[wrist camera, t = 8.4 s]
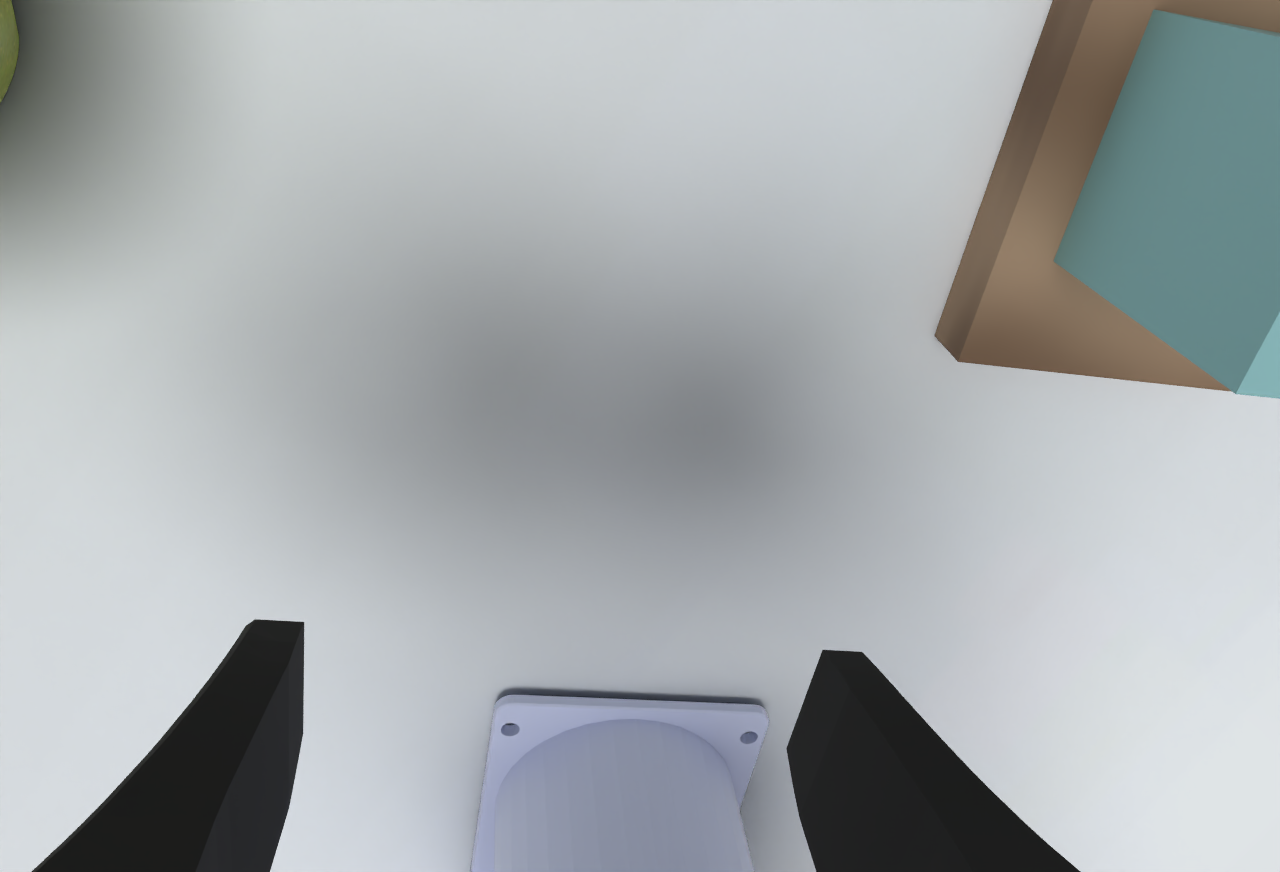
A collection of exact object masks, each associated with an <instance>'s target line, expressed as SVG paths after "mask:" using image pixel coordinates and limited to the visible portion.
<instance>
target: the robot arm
mask: <svg viewBox="0 0 1280 872" xmlns="http://www.w3.org/2000/svg"><path fill="white" fill-rule="evenodd" d="M303 689H304V622H292V621H273V620H254V621H252V622H251V623H249V624H248V625H246V627H245V628H244V630H243V631H242V633H241V634H240V636H239V638H238V639H237V641H236V642H235V644H234V645H233V646H232V648H231V649H230V651H229V652H228V654H227V655H226V657H225V658H224V659H223V661H222V662H221V664H220V665H219V666H218V668H217V669H216V670H215V672H214V673H213V674H212V676H211V677H210V678H209V680H208V681H207V682H206V684H205V685H204V686H203V688H202V689H201V690H200V691H199V693H198V694H197V695H196V697H195V698H194V699H193V701H192V702H191V703H190V704H189V705H188V707H187V708H186V709H185V710H184V711H183V713H182V714H181V715H180V716H179V717H178V719H177V720H176V721H175V722H174V724H173V725H172V726H171V727H170V728H169V730H168V731H167V732H166V733H165V734H164V736H163V737H162V738H161V739H160V741H159V742H158V743H157V744H156V745H155V746H154V747H153V749H152V750H151V751H150V752H149V753H148V754H147V755H146V756H145V758H144V759H143V760H142V761H141V762H140V763H139V764H138V765H137V766H136V767H135V768H134V770H133V771H132V772H131V773H130V774H129V775H128V776H127V777H126V778H125V779H124V780H123V781H122V783H121V784H120V785H119V786H118V787H117V788H116V789H115V790H114V791H113V792H112V793H111V795H110V796H109V797H108V798H107V799H106V800H105V801H104V802H103V803H102V804H101V805H100V806H99V807H98V808H97V809H96V810H95V811H94V812H93V813H92V814H91V815H90V816H89V817H88V818H87V819H86V820H85V821H84V822H83V823H82V824H81V825H80V826H79V827H78V828H77V829H76V830H75V831H74V832H73V833H72V834H71V835H70V836H69V837H68V838H67V839H66V840H65V841H64V842H63V843H62V844H61V845H60V846H59V847H58V848H56V849H55V850H54V851H53V852H52V853H51V854H50V855H49V856H48V857H47V858H46V859H45V860H44V861H43V862H42V863H40V864H39V865H38V866H37V867H36V868H35V869H34V870H33V871H32V872H270V869H271V866H272V863H273V859H274V856H275V853H276V849H277V846H278V843H279V839H280V836H281V833H282V829H283V826H284V823H285V819H286V816H287V813H288V809H289V805H290V800H291V795H292V789H293V784H294V779H295V774H296V769H297V763H298V758H299V752H300V747H301V741H302V736H303ZM507 723H514V725H505V724H507ZM768 726H769V718H768V715H767V712H766V710H765V708H763V707H762V706H759V705H754V704H731V703H707V702H682V701H658V700H634V699H609V698H585V697H561V696H536V695H507V696H504V697H502V698H500V699H499V700H498V701H497V702H496V704H495V706H494V712H493V719H492V726H491V733H490V739H489V746H488V753H487V760H486V767H485V774H484V780H483V787H482V794H481V801H480V808H479V815H478V821H477V828H476V835H475V842H474V849H473V856H472V862H471V869H470V872H755V871H754V867H753V863H752V859H751V855H750V851H749V847H748V843H747V839H746V835H745V831H744V826H743V822H742V818H741V814H740V807H741V804H742V801H743V798H744V795H745V792H746V789H747V787H748V784H749V781H750V778H751V775H752V772H753V769H754V766H755V764H756V761H757V758H758V755H759V752H760V749H761V746H762V743H763V741H764V738H765V735H766V732H767V729H768ZM750 731H751V732H750ZM746 732H749V733H746ZM744 733H745V734H744ZM787 753H788V759H789V765H790V771H791V777H792V782H793V788H794V793H795V798H796V803H797V807H798V812H799V817H800V820H801V824H802V827H803V830H804V834H805V837H806V840H807V843H808V846H809V849H810V852H811V856H812V859H813V862H814V865H815V868H816V871H817V872H1080V871H1079V870H1078V869H1077V868H1075V867H1074V866H1073V865H1072V864H1071V863H1070V862H1068V861H1067V860H1066V859H1065V858H1064V857H1063V856H1061V855H1060V854H1059V853H1058V852H1057V851H1055V850H1054V849H1053V848H1052V847H1051V846H1050V845H1048V844H1047V843H1046V842H1045V841H1044V840H1043V839H1042V838H1041V837H1040V836H1038V835H1037V834H1036V833H1035V832H1034V831H1033V830H1032V829H1031V828H1030V827H1029V826H1027V825H1026V824H1025V823H1024V822H1023V821H1022V820H1021V819H1020V818H1019V817H1018V816H1017V815H1016V814H1015V813H1014V812H1013V811H1012V810H1011V809H1010V808H1009V807H1008V806H1007V805H1006V804H1005V803H1003V802H1002V801H1001V800H1000V799H999V798H998V797H997V796H996V795H995V794H994V793H993V792H992V791H991V790H990V789H989V788H988V787H987V786H986V785H985V784H984V783H983V782H982V781H981V780H980V779H979V778H978V777H977V776H976V775H975V774H974V773H973V772H972V771H971V770H970V769H969V768H968V767H967V765H966V764H965V763H964V762H963V761H962V760H961V759H960V758H959V757H958V756H957V755H956V754H955V753H954V752H953V751H952V750H951V749H950V748H949V746H948V745H947V744H946V743H945V742H944V741H943V740H942V739H941V738H940V737H939V736H938V735H937V734H936V732H935V731H934V730H933V729H932V728H931V727H930V726H929V725H928V724H927V723H926V722H925V720H924V719H923V718H922V717H921V716H920V715H919V714H918V713H917V712H916V710H915V709H914V708H913V707H912V706H911V705H910V704H909V703H908V702H907V701H906V699H905V698H904V697H903V696H902V695H901V694H900V693H899V692H898V690H897V689H896V688H895V687H894V686H893V685H892V684H891V683H890V682H889V680H888V679H887V678H886V677H885V676H884V675H883V674H882V673H881V672H880V671H879V669H878V668H877V667H876V666H875V665H874V664H873V663H872V662H871V661H870V660H869V659H868V658H867V657H866V656H865V655H864V654H863V653H862V652H853V651H834V650H822V653H821V656H820V659H819V661H818V664H817V667H816V670H815V672H814V675H813V678H812V680H811V683H810V686H809V689H808V691H807V694H806V697H805V700H804V702H803V705H802V708H801V710H800V713H799V716H798V719H797V721H796V724H795V727H794V730H793V732H792V735H791V738H790V740H789V743H788V746H787Z"/></svg>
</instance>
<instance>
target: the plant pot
mask: <svg viewBox="0 0 1280 872" xmlns="http://www.w3.org/2000/svg"><path fill="white" fill-rule="evenodd" d="M18 50H19V35H18V30H17V25H16V20H15V15H14V10H13V6H12V1H11V0H0V103H1V101H2V99H3V97H4V96H5V94H6V92H7V89H8V87H9V85H10V83H11V80H12V77H13V74H14V71H15V68H16V63H17V59H18Z"/></svg>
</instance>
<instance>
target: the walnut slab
mask: <svg viewBox="0 0 1280 872" xmlns="http://www.w3.org/2000/svg"><path fill="white" fill-rule="evenodd" d="M1153 10H1160V11H1165V12H1170V13H1176V14H1181V15H1186V16H1192V17H1197V18H1202V19H1208V20H1213V21H1219V22H1224V23H1229V24H1235V25H1240V26H1245V27H1251V28H1256V29H1261V30H1267V31H1272V32H1277V33H1280V0H1053V2H1052V4H1051V7H1050V10H1049V13H1048V16H1047V19H1046V21H1045V24H1044V27H1043V30H1042V33H1041V36H1040V38H1039V41H1038V44H1037V47H1036V50H1035V53H1034V55H1033V58H1032V61H1031V64H1030V67H1029V70H1028V72H1027V75H1026V78H1025V81H1024V84H1023V86H1022V89H1021V92H1020V95H1019V98H1018V101H1017V103H1016V106H1015V109H1014V112H1013V115H1012V118H1011V120H1010V123H1009V126H1008V129H1007V132H1006V135H1005V137H1004V140H1003V143H1002V146H1001V149H1000V152H999V154H998V157H997V160H996V163H995V166H994V169H993V171H992V174H991V177H990V180H989V183H988V185H987V188H986V191H985V194H984V197H983V200H982V202H981V205H980V208H979V211H978V214H977V217H976V219H975V222H974V225H973V228H972V231H971V234H970V236H969V239H968V242H967V245H966V248H965V251H964V253H963V256H962V259H961V262H960V265H959V268H958V270H957V273H956V276H955V279H954V282H953V284H952V287H951V290H950V293H949V296H948V299H947V301H946V304H945V307H944V310H943V313H942V316H941V318H940V321H939V324H938V327H937V330H936V333H935V335H934V336H935V337H936V338H937V339H938V340H939V341H940V342H941V343H942V345H943V346H944V347H945V348H946V349H947V350H948V351H949V352H950V353H951V354H952V356H953V357H954V358H955V359H956V360H957V361H958V362H965V363H975V364H984V365H993V366H1002V367H1011V368H1021V369H1030V370H1039V371H1048V372H1058V373H1067V374H1076V375H1085V376H1094V377H1104V378H1113V379H1122V380H1131V381H1140V382H1150V383H1159V384H1168V385H1177V386H1187V387H1196V388H1205V389H1214V390H1223V391H1231V390H1230V389H1228V388H1227V387H1225V386H1224V385H1223V384H1221V383H1220V382H1219V381H1217V380H1216V379H1214V378H1213V377H1212V376H1210V375H1209V374H1208V373H1206V372H1205V371H1204V370H1202V369H1201V368H1199V367H1198V366H1197V365H1195V364H1194V363H1193V362H1191V361H1190V360H1188V359H1187V358H1186V357H1184V356H1183V355H1182V354H1180V353H1179V352H1177V351H1176V350H1175V349H1173V348H1172V347H1171V346H1169V345H1168V344H1166V343H1165V342H1164V341H1162V340H1161V339H1160V338H1158V337H1157V336H1155V335H1154V334H1153V333H1151V332H1150V331H1149V330H1147V329H1146V328H1144V327H1143V326H1142V325H1140V324H1139V323H1138V322H1136V321H1135V320H1133V319H1132V318H1131V317H1129V316H1128V315H1127V314H1125V313H1124V312H1122V311H1121V310H1120V309H1118V308H1117V307H1116V306H1114V305H1113V304H1111V303H1110V302H1109V301H1107V300H1106V299H1105V298H1103V297H1102V296H1100V295H1099V294H1098V293H1096V292H1095V291H1094V290H1092V289H1091V288H1089V287H1088V286H1087V285H1085V284H1084V283H1083V282H1081V281H1080V280H1078V279H1077V278H1076V277H1074V276H1073V275H1072V274H1070V273H1069V272H1067V271H1066V270H1065V269H1063V268H1062V267H1061V266H1059V265H1058V264H1056V263H1055V262H1054V258H1055V256H1056V253H1057V251H1058V248H1059V246H1060V243H1061V241H1062V238H1063V236H1064V233H1065V231H1066V228H1067V226H1068V223H1069V221H1070V218H1071V216H1072V213H1073V211H1074V208H1075V206H1076V203H1077V200H1078V198H1079V195H1080V193H1081V190H1082V188H1083V185H1084V183H1085V180H1086V178H1087V175H1088V173H1089V170H1090V168H1091V165H1092V163H1093V160H1094V158H1095V155H1096V153H1097V150H1098V148H1099V145H1100V143H1101V140H1102V138H1103V135H1104V133H1105V130H1106V128H1107V125H1108V123H1109V120H1110V118H1111V115H1112V112H1113V110H1114V107H1115V105H1116V102H1117V100H1118V97H1119V95H1120V92H1121V90H1122V87H1123V85H1124V82H1125V80H1126V77H1127V75H1128V72H1129V70H1130V67H1131V65H1132V62H1133V60H1134V57H1135V55H1136V52H1137V50H1138V47H1139V45H1140V42H1141V40H1142V37H1143V35H1144V32H1145V30H1146V27H1147V25H1148V22H1149V20H1150V17H1151V15H1152V12H1153Z"/></svg>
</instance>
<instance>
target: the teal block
mask: <svg viewBox="0 0 1280 872" xmlns="http://www.w3.org/2000/svg"><path fill="white" fill-rule="evenodd" d="M1054 262H1055V263H1056V264H1058V265H1059V266H1061V267H1062V268H1063V269H1065V270H1066V271H1067V272H1069V273H1070V274H1072V275H1073V276H1074V277H1076V278H1077V279H1078V280H1080V281H1081V282H1083V283H1084V284H1085V285H1087V286H1088V287H1089V288H1091V289H1092V290H1094V291H1095V292H1096V293H1098V294H1099V295H1100V296H1102V297H1103V298H1105V299H1106V300H1107V301H1109V302H1110V303H1111V304H1113V305H1114V306H1116V307H1117V308H1118V309H1120V310H1121V311H1122V312H1124V313H1125V314H1127V315H1128V316H1129V317H1131V318H1132V319H1133V320H1135V321H1136V322H1138V323H1139V324H1140V325H1142V326H1143V327H1144V328H1146V329H1147V330H1149V331H1150V332H1151V333H1153V334H1154V335H1155V336H1157V337H1158V338H1160V339H1161V340H1162V341H1164V342H1165V343H1166V344H1168V345H1169V346H1171V347H1172V348H1173V349H1175V350H1176V351H1177V352H1179V353H1180V354H1182V355H1183V356H1184V357H1186V358H1187V359H1188V360H1190V361H1191V362H1193V363H1194V364H1195V365H1197V366H1198V367H1199V368H1201V369H1202V370H1204V371H1205V372H1206V373H1208V374H1209V375H1210V376H1212V377H1213V378H1214V379H1216V380H1217V381H1219V382H1220V383H1221V384H1223V385H1224V386H1225V387H1227V388H1228V389H1230V390H1231V391H1232V392H1234V393H1235V394H1241V395H1251V396H1260V397H1270V398H1280V33H1277V32H1272V31H1267V30H1261V29H1256V28H1251V27H1245V26H1240V25H1235V24H1229V23H1224V22H1219V21H1213V20H1208V19H1202V18H1197V17H1192V16H1186V15H1181V14H1176V13H1170V12H1165V11H1160V10H1153V12H1152V15H1151V17H1150V20H1149V22H1148V25H1147V27H1146V30H1145V32H1144V35H1143V37H1142V40H1141V42H1140V45H1139V47H1138V50H1137V52H1136V55H1135V57H1134V60H1133V62H1132V65H1131V67H1130V70H1129V72H1128V75H1127V77H1126V80H1125V82H1124V85H1123V87H1122V90H1121V92H1120V95H1119V97H1118V100H1117V102H1116V105H1115V107H1114V110H1113V112H1112V115H1111V118H1110V120H1109V123H1108V125H1107V128H1106V130H1105V133H1104V135H1103V138H1102V140H1101V143H1100V145H1099V148H1098V150H1097V153H1096V155H1095V158H1094V160H1093V163H1092V165H1091V168H1090V170H1089V173H1088V175H1087V178H1086V180H1085V183H1084V185H1083V188H1082V190H1081V193H1080V195H1079V198H1078V200H1077V203H1076V206H1075V208H1074V211H1073V213H1072V216H1071V218H1070V221H1069V223H1068V226H1067V228H1066V231H1065V233H1064V236H1063V238H1062V241H1061V243H1060V246H1059V248H1058V251H1057V253H1056V256H1055V258H1054Z"/></svg>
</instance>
